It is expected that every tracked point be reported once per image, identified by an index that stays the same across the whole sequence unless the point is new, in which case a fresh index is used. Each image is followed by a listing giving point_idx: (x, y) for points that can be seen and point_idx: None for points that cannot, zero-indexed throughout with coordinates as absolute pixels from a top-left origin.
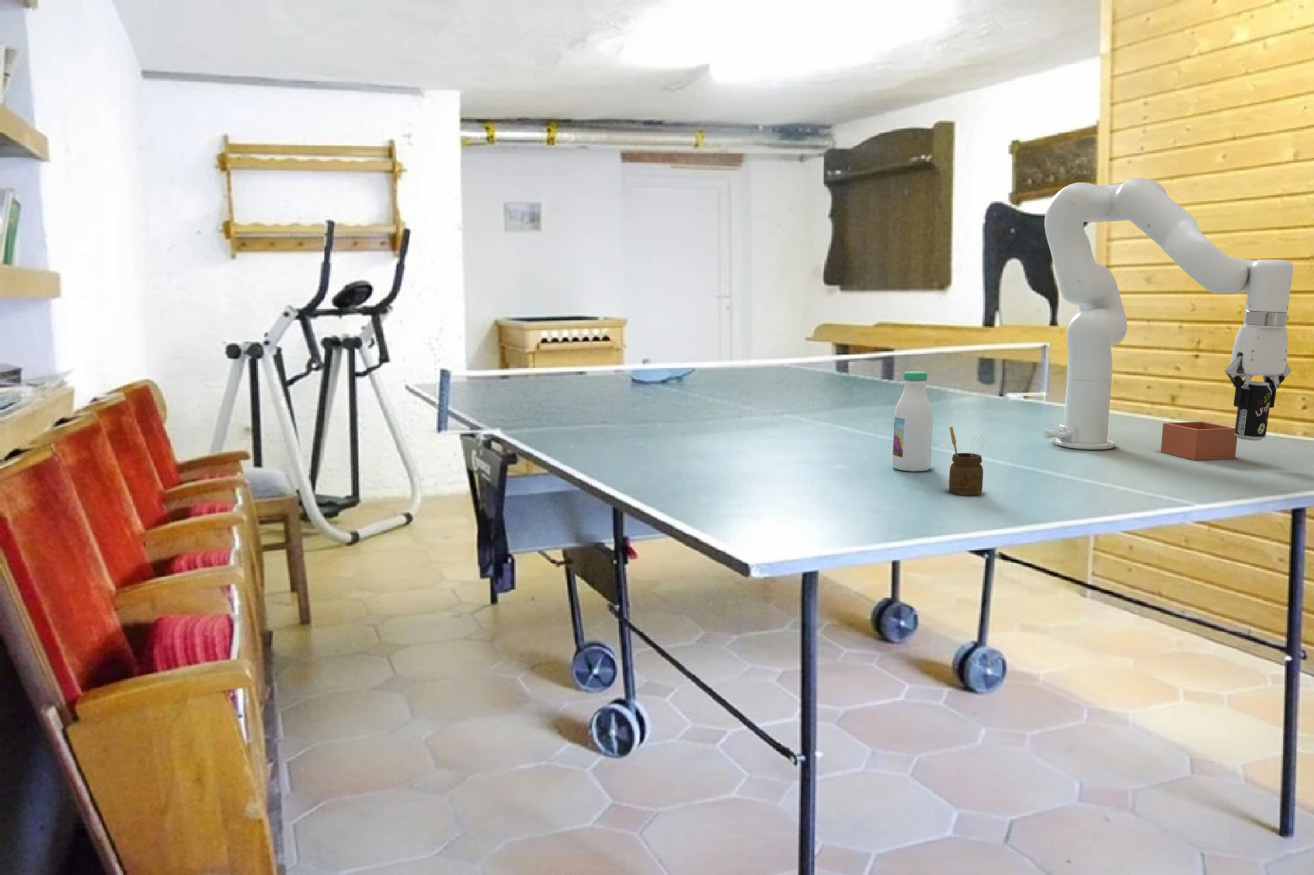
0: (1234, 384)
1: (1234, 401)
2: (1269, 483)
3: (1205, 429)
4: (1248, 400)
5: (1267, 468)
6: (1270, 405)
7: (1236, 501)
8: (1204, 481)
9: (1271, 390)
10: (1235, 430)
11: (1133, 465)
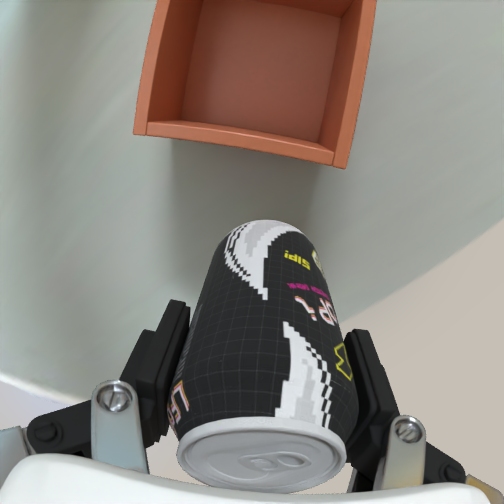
0: (84, 407)
1: (144, 329)
2: None
3: (176, 133)
4: None
5: None
6: None
7: (26, 385)
8: (37, 310)
9: None
10: (218, 248)
11: (4, 144)
